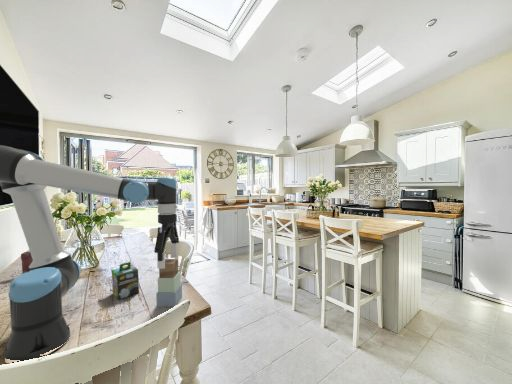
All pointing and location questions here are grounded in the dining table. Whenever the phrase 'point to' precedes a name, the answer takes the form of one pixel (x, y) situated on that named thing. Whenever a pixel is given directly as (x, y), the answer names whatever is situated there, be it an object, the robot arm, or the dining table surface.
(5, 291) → the dining table surface
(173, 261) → the walnut block
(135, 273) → the chalk box
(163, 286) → the sage block
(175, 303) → the slate block
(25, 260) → the can
